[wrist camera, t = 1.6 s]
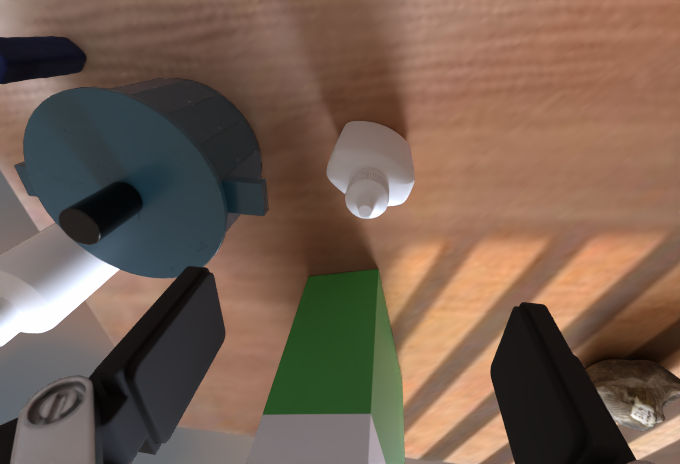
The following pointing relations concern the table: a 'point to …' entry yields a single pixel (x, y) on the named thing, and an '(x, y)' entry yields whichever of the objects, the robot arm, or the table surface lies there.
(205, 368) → the robot arm
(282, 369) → the green and white box
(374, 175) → the eye dropper bottle
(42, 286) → the white plastic bottle
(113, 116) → the pot lid
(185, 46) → the table surface
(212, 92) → the pot
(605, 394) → the fossilized seashell
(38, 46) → the eraser
